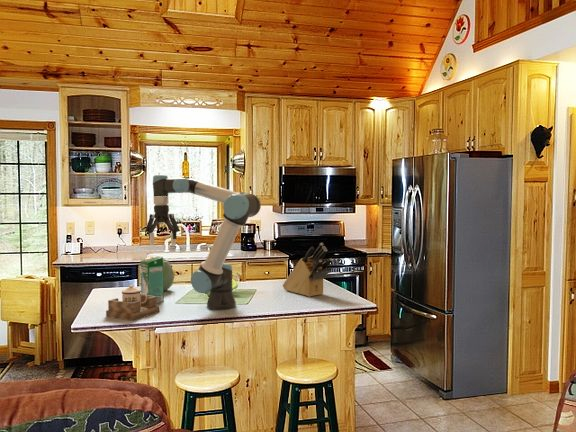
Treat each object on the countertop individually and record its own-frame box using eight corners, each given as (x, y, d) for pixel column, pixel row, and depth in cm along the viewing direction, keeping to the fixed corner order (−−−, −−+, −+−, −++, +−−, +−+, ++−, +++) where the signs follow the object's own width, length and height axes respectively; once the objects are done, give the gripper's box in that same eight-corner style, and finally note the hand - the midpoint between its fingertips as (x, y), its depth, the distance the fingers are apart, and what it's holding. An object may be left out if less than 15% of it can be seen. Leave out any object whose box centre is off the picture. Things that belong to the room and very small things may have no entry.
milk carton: (140, 301, 279) (139, 256, 277) (155, 299, 285) (154, 255, 284) (149, 304, 272) (148, 258, 271) (163, 301, 279) (163, 256, 277)
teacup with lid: (121, 311, 244) (120, 287, 244) (123, 307, 253) (122, 284, 252) (146, 309, 247) (146, 286, 246) (147, 305, 256) (147, 283, 255)
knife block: (319, 300, 279) (318, 244, 278) (282, 290, 308) (281, 239, 306) (334, 297, 286) (334, 243, 285) (296, 287, 314) (296, 238, 313)
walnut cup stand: (159, 311, 255) (159, 296, 255) (132, 320, 238) (131, 303, 238) (134, 308, 263) (133, 293, 262) (106, 316, 246) (105, 300, 246)
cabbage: (149, 295, 296) (149, 261, 295) (147, 289, 314) (146, 257, 313) (176, 293, 301) (176, 260, 300) (173, 287, 319) (172, 256, 318)
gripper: (185, 204, 260) (186, 244, 261) (146, 204, 270) (148, 244, 271) (176, 204, 253) (178, 246, 254) (137, 205, 263) (139, 245, 264)
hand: (162, 245), depth 262 cm, fingers open, 13 cm apart
